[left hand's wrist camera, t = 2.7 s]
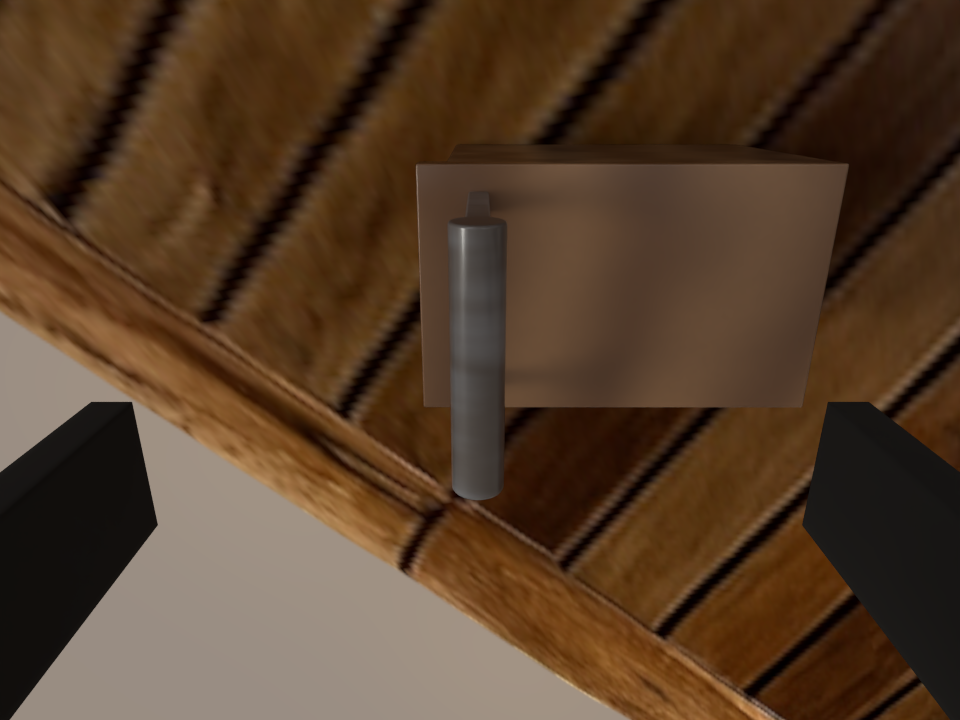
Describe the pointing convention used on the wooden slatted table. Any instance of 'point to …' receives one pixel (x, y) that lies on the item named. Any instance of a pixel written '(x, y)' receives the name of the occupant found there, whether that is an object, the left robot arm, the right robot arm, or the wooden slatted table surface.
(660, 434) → the wooden slatted table surface
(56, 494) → the left robot arm
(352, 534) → the wooden slatted table surface
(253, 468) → the wooden slatted table surface
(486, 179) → the lid
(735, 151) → the chest
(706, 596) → the wooden slatted table surface
